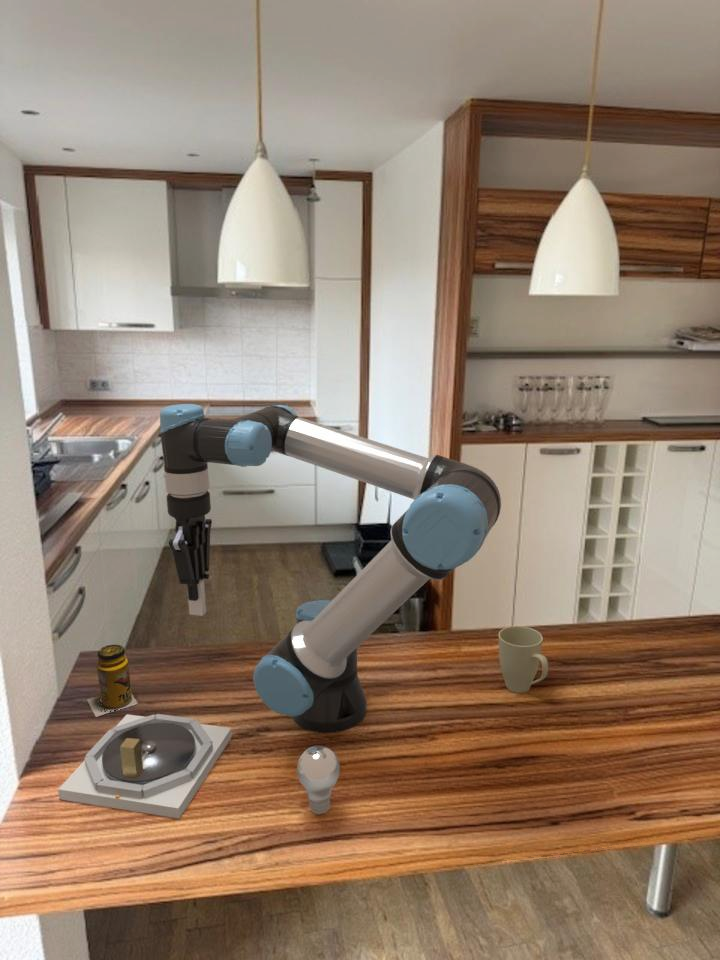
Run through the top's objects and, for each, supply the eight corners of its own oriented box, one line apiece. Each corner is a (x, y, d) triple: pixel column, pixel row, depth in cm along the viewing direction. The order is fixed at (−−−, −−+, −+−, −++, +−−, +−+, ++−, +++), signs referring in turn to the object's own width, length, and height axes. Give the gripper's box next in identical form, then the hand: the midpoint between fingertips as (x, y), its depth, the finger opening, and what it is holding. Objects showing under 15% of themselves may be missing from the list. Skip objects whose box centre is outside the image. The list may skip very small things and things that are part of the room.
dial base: (232, 736, 137) (230, 721, 136) (179, 818, 116) (177, 800, 115) (127, 723, 141) (126, 707, 140) (59, 799, 121) (56, 781, 120)
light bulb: (298, 799, 120) (295, 737, 117) (339, 796, 121) (338, 734, 117) (298, 829, 113) (295, 765, 110) (342, 826, 114) (341, 762, 111)
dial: (127, 725, 137) (123, 692, 135) (207, 731, 135) (205, 697, 133) (85, 781, 121) (80, 745, 120) (175, 789, 119) (172, 752, 117)
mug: (491, 696, 149) (493, 644, 146) (501, 672, 158) (503, 623, 154) (545, 706, 145) (548, 653, 142) (551, 682, 154) (555, 631, 150)
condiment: (138, 704, 148) (132, 652, 145) (96, 717, 143) (89, 664, 140) (127, 688, 154) (122, 637, 151) (87, 700, 149) (80, 649, 146)
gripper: (184, 481, 134) (194, 597, 140) (150, 501, 122) (162, 627, 128) (222, 483, 132) (230, 600, 139) (191, 504, 120) (201, 631, 126)
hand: (197, 613), depth 133 cm, fingers closed
